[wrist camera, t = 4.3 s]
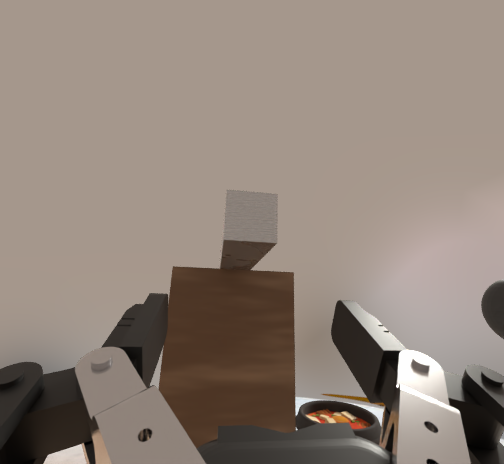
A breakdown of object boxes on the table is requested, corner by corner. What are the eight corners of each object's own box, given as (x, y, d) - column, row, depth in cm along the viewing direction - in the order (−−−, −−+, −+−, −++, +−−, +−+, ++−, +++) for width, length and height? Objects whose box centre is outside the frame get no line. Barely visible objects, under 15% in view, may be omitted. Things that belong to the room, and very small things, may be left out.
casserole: (432, 519, 36) (423, 449, 39) (300, 511, 37) (299, 442, 39) (363, 434, 61) (360, 394, 63) (284, 430, 61) (284, 390, 63)
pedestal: (158, 551, 30) (186, 278, 39) (266, 542, 32) (269, 282, 41) (120, 720, 18) (172, 266, 27) (299, 692, 20) (293, 272, 28)
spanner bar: (218, 281, 44) (220, 246, 45) (237, 282, 44) (238, 247, 46) (223, 239, 15) (229, 147, 17) (277, 243, 15) (277, 152, 17)
